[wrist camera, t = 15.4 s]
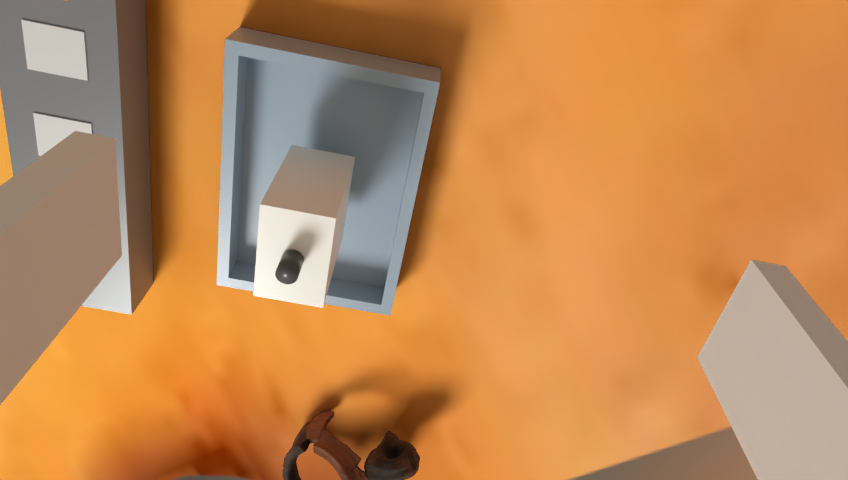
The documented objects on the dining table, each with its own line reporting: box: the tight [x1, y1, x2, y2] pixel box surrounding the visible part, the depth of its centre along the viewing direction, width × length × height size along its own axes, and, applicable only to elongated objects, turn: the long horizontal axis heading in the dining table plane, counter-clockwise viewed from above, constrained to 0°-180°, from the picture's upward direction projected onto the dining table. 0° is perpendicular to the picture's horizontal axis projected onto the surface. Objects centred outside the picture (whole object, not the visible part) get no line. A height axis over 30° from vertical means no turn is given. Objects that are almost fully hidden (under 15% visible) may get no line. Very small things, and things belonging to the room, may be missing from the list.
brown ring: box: [283, 411, 420, 480], centre depth 55 cm, size 12×10×8 cm
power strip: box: [0, 0, 154, 315], centre depth 39 cm, size 32×7×5 cm, turn 169°
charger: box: [253, 145, 355, 308], centre depth 39 cm, size 6×4×12 cm, turn 169°
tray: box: [217, 27, 441, 315], centre depth 43 cm, size 18×13×3 cm
